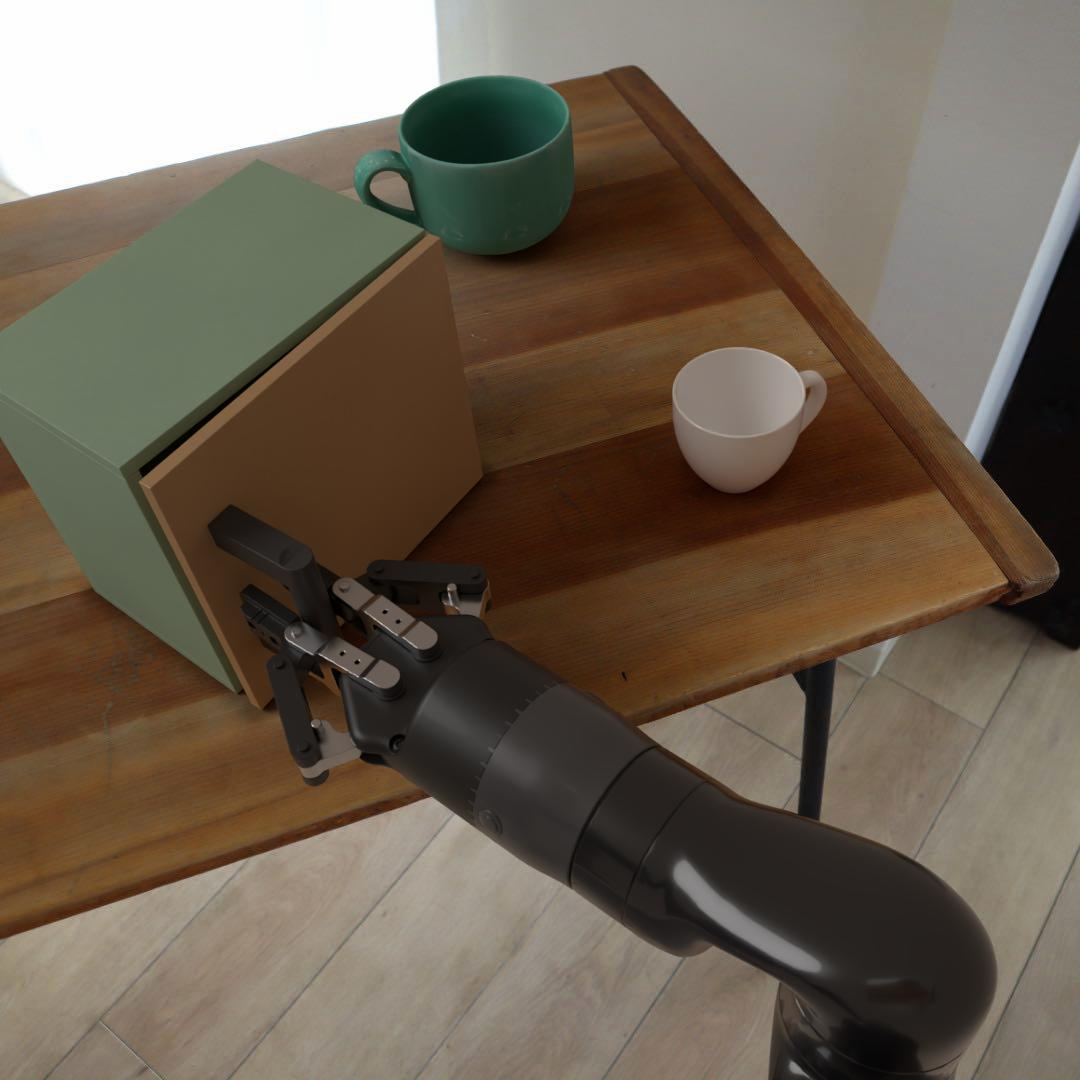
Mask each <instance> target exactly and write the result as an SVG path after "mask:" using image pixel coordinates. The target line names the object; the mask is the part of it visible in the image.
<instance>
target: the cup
mask: <svg viewBox="0 0 1080 1080" xmlns="http://www.w3.org/2000/svg"><path fill="white" fill-rule="evenodd" d="M827 386H828V385H827V383H826V380H825V379H824V377H823V376H822V375H821V374H820V373H819V372H818V371H816V370H812V369H809V370H808V369H807V370H801V371H799V372H798V370H797V369H796V368H795V367H794V366H793V365H792V364H791V363H789V362H788V361H787V360H786V359H784V358H782V357H781V356H779V355H776V354H775V353H771V352H769V351H766V350H762V349H758V348H753V347H744V346H743V347H742V346H738V347H737V346H733V347H722V348H718V349H714V350H710V351H707V352H703V353H702V354H699V355H698V356H696V357H694V358H693V359H691V360H689V361H688V362H687V363H686V364H685V365H683V367H682V368H681V369H680V370H679V371H678V373H677V375H676V376H675V379H674V381H673V384H672V390H671V414H672V424H673V431H674V436H675V439H676V443H677V445H678V446H679V450H680V452H681V454H682V456H683V458H684V460H685V461H686V463H687V464H688V466H689V467H690V469H691V470H692V471H693V472H694V473H695V474H696V476H698V477H699V478H700V479H701V480H702V481H704V482H705V483H706V484H707V485H708V486H710V487H712V489H715V490H717V491H718V492H719V491H720V492H722V493H727V494H743V493H747V492H750V491H752V490H754V489H756V488H758V487H759V486H761V485H763V484H764V483H766V482H767V481H769V480H770V479H771V478H772V477H774V476H775V475H776V474H777V473H778V472H779V471H780V469H781V468H782V467H783V466H784V465H785V463H786V462H787V460H788V459H789V458H790V456H791V454H792V453H793V450H794V449H795V446H796V444H797V441H798V439H799V436H800V435H801V434H802V433H803V432H804V431H805V430H806V429H807V428H808V426H809V425H810V424H811V423H812V422H813V421H814V420H815V419H816V418H817V416H818V415H819V414H820V412H821V411H822V409H823V407H824V405H825V402H826V400H827V397H828V396H827V395H828V387H827ZM808 388H809V394H808V397H807V396H806V395H807V390H806V389H808ZM806 397H807V398H806Z"/></svg>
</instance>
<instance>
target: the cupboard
mask: <svg viewBox="0 0 1080 1080" xmlns="http://www.w3.org/2000/svg"><path fill="white" fill-rule="evenodd" d="M426 236H427V234H426V231H425V229H423V228H421V227H418V226H416V225H413V224H411V223H409V222H406V221H404V220H401V219H399V218H397V217H394V216H392V215H389V214H387V213H385V212H382V211H380V210H378V209H375V208H373V207H370V206H368V205H366V204H363V203H362V201H358V200H356V199H353V198H351V197H349V196H346V195H344V194H342V193H339V192H338V191H334V190H332V189H330V188H327V187H325V186H323V185H320V184H317V183H315V182H314V181H310V180H308V179H306V178H304V177H301V176H298V175H296V174H294V173H291V172H290V171H287V170H284V169H282V168H280V167H277V166H274V165H273V164H270V163H267V162H266V161H263V160H260V159H257V158H256V159H255V160H253V161H252V162H250V163H249V164H248V165H246V166H245V167H243V168H241V169H240V170H239V171H237V172H236V173H234V174H233V175H231V176H229V177H228V178H227V179H225V180H224V181H222V182H221V183H219V184H218V185H216V186H215V187H214V188H212V189H210V190H209V191H207V192H206V193H204V194H203V195H202V196H201V195H200V197H198V198H197V199H195V200H194V201H193V202H191V203H189V204H188V205H186V206H185V207H184V208H182V209H181V210H179V211H178V212H176V213H175V214H173V215H172V216H170V217H169V218H167V219H165V220H164V221H162V222H161V223H160V224H158V225H157V226H155V227H154V228H152V229H151V230H149V231H148V232H146V233H145V234H143V235H141V237H139V238H137V239H135V241H133V242H131V243H130V244H128V245H127V246H125V247H124V248H123V249H120V250H119V251H118V252H116V253H114V255H112V256H111V257H109V258H107V259H106V260H105V261H103V262H102V263H100V264H99V265H97V266H95V267H94V268H93V269H91V270H89V271H88V272H87V273H85V274H84V275H82V276H81V277H78V279H76V280H75V281H73V282H72V283H70V284H68V285H67V286H66V287H64V288H63V289H61V290H60V291H59V292H57V293H55V294H54V295H52V296H51V297H49V298H48V299H46V300H45V301H43V302H42V303H41V304H39V305H38V306H36V307H35V308H33V309H32V310H30V311H29V312H27V313H25V314H24V315H23V316H21V317H20V318H18V319H17V320H15V321H14V322H12V323H11V324H9V325H8V326H7V327H4V328H3V329H2V330H1V331H0V440H1V441H2V442H3V444H4V446H5V447H6V449H7V451H8V453H9V454H10V455H11V457H12V459H13V460H14V462H15V463H16V465H17V467H18V468H19V470H20V472H21V474H22V475H23V476H24V478H25V480H26V481H27V483H28V485H29V486H30V488H31V490H32V492H33V493H34V495H35V496H36V498H37V500H38V501H39V502H40V504H41V506H42V507H43V509H44V510H45V512H46V514H47V516H48V518H49V520H51V522H52V524H53V525H54V527H55V529H56V530H57V532H58V533H59V535H60V537H61V538H62V540H63V541H64V544H65V545H66V546H67V548H68V550H69V552H70V553H71V554H72V556H73V558H74V559H75V561H76V563H77V564H78V566H79V568H80V569H81V571H82V573H83V574H84V577H86V579H87V581H88V582H89V584H90V586H91V587H92V589H93V590H94V592H95V593H97V594H98V595H99V596H101V597H102V598H103V599H105V600H107V602H108V603H111V605H113V606H114V607H116V608H117V609H118V610H120V611H122V612H123V613H124V614H126V615H127V616H128V617H130V618H131V619H132V620H134V621H135V622H137V623H138V624H139V625H141V626H142V627H143V628H145V630H148V632H151V633H152V634H153V635H154V636H156V637H157V638H159V640H161V641H163V642H164V643H166V644H167V645H168V646H170V647H171V648H172V649H174V650H175V651H177V652H178V653H179V654H180V655H182V656H184V657H185V658H186V659H187V660H189V661H190V662H192V663H193V664H195V665H196V666H197V667H198V668H200V669H201V670H203V671H204V672H205V673H206V674H208V675H210V676H211V677H212V678H213V679H214V680H217V681H218V682H219V683H220V684H222V685H223V686H225V687H226V688H228V689H229V690H230V691H231V692H233V693H234V694H236V695H238V694H239V693H240V692H241V691H242V690H244V688H243V686H242V684H241V682H240V680H239V678H238V676H237V674H236V672H235V670H234V668H233V666H232V664H231V662H230V661H229V659H228V657H227V655H226V653H225V651H224V649H223V647H222V645H221V643H220V641H219V639H218V637H217V635H216V633H215V631H214V629H213V627H212V625H211V623H210V621H209V619H208V617H207V615H206V613H205V611H204V609H203V607H202V605H201V604H200V602H199V600H198V598H197V596H196V594H195V592H194V590H193V588H192V586H191V584H190V582H189V580H188V578H187V576H186V574H185V572H184V570H183V568H182V566H181V564H180V562H179V560H178V558H177V556H176V554H175V552H174V550H173V548H172V547H171V545H170V543H169V541H168V539H167V537H166V535H165V533H164V531H163V529H162V527H161V525H160V523H159V521H158V519H157V517H156V515H155V513H154V511H153V509H152V507H151V505H150V503H149V501H148V499H147V497H146V495H145V493H144V492H143V490H142V488H141V486H140V484H139V481H140V480H142V479H143V478H144V477H145V476H146V475H147V474H149V473H150V472H151V471H152V470H153V469H154V468H156V467H157V466H158V465H159V464H160V463H161V462H163V461H164V460H165V459H166V458H167V457H168V456H170V455H171V454H172V453H173V452H174V451H175V450H177V449H178V448H179V447H180V446H181V445H182V444H184V443H185V442H186V441H187V440H188V439H189V438H191V437H192V436H193V435H194V434H195V433H197V432H198V431H199V430H200V429H201V428H202V427H204V426H205V425H206V424H207V423H208V422H209V421H211V420H212V419H213V418H214V417H215V416H216V415H218V414H219V413H220V412H221V411H222V410H223V409H225V408H226V407H227V406H228V405H229V404H230V403H232V402H233V401H234V400H235V399H236V398H237V397H239V396H240V395H241V394H242V393H243V392H244V391H246V390H247V389H248V388H249V387H250V386H251V385H253V384H254V383H255V382H256V381H257V380H258V379H260V378H261V377H262V376H263V375H264V374H266V373H267V372H268V371H269V370H270V369H271V368H273V367H274V366H275V365H276V364H277V363H278V362H280V361H281V360H282V359H283V358H284V357H285V356H287V355H288V354H289V353H290V352H291V351H292V350H294V349H295V348H296V347H297V346H298V345H299V344H301V343H302V342H303V341H304V340H305V339H306V338H308V337H309V336H310V335H311V334H312V333H313V332H315V331H316V330H317V329H318V328H319V327H320V326H322V325H323V324H324V323H325V322H326V321H328V320H329V319H330V318H331V317H332V316H333V315H335V314H336V313H337V312H338V311H339V310H340V309H342V308H343V307H344V306H345V305H346V304H347V303H349V302H350V301H351V300H352V299H353V298H354V297H356V296H357V295H358V294H359V293H360V292H361V291H363V290H364V289H365V288H366V287H367V286H368V285H370V284H371V283H372V282H373V281H374V280H375V279H377V278H378V277H379V276H380V275H381V274H382V273H384V272H385V271H386V270H387V269H388V268H389V267H391V266H392V265H393V264H394V263H395V262H397V261H398V260H399V259H400V258H401V257H402V256H404V255H405V254H406V253H407V252H408V251H409V250H411V249H412V248H413V247H414V246H415V245H416V244H418V243H419V242H420V241H421V240H422V239H423V238H425V237H426Z"/></svg>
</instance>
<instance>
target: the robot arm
mask: <svg viewBox="0 0 1080 1080" xmlns="http://www.w3.org/2000/svg"><path fill="white" fill-rule="evenodd" d="M316 563H317V562H316ZM317 565H318V568H319V571H320V574H321V576H322V579H323V582H324V585H325V587H326V590H327V593H328V595H329V598H330V601H331V604H332V606H333V609H334V612H335V615H336V616H337V615H338V616H339V617H341V618H342V619H343V621H344V623H343V624H345V625H346V626H348V627H349V628H350V629H352V630H353V631H355V632H356V633H357V634H358V635H360V636H361V637H362V638H363V639H365V640H366V642H365V643H363V644H362V645H360V646H359V647H356V646H355V645H353V644H351V643H349V642H348V641H346V640H345V641H344V640H342V639H341V638H339V637H337V636H332V637H329V636H327V635H325V634H323V633H322V632H320V631H318V630H316V629H315V628H313V627H311V626H310V625H308V624H306V623H304V622H301V619H300V617H299V615H298V614H296V613H295V612H293V611H292V610H290V609H289V608H287V607H286V606H284V605H283V604H281V603H280V602H278V601H277V600H275V599H274V598H272V597H271V596H269V595H268V594H266V593H265V592H263V591H262V590H260V589H259V588H257V587H256V586H254V585H253V584H249V585H248V586H247V587H245V588H244V589H243V590H242V591H241V592H240V593H239V596H240V598H241V600H242V602H243V604H242V605H241V606H240V609H241V611H242V613H243V615H244V617H245V619H246V621H247V624H248V626H249V628H250V629H251V631H252V632H253V633H255V634H256V635H258V636H260V637H261V638H262V639H263V640H265V641H266V642H268V643H269V644H271V645H272V646H273V647H275V648H276V649H278V650H279V653H278V654H277V655H274V656H273V657H271V658H270V659H269V660H268V662H267V664H266V670H267V673H268V677H269V680H270V684H271V687H272V691H273V694H274V697H273V698H274V701H275V704H276V708H277V711H278V715H279V718H280V721H281V725H282V729H283V733H284V735H285V736H284V737H285V739H286V743H287V746H288V749H289V753H290V755H291V757H292V759H293V761H294V764H295V766H296V767H297V769H298V772H299V774H300V775H301V777H302V780H303V782H304V783H305V784H306V785H308V786H309V787H318V786H321V785H323V784H324V783H326V781H327V780H328V779H329V776H330V769H332V768H335V767H338V766H341V765H342V764H343V765H344V764H346V763H348V762H351V761H353V760H356V759H360V760H361V761H362V762H364V763H366V764H367V765H371V766H377V767H384V768H388V769H392V770H394V771H395V772H397V773H398V774H400V775H401V776H402V777H403V778H405V779H406V780H407V781H409V782H410V783H412V784H413V785H414V786H416V787H417V788H419V789H420V790H421V791H423V792H424V793H425V794H427V795H428V796H430V797H431V798H432V799H434V800H435V801H437V802H438V803H440V804H441V805H443V806H444V807H445V808H447V810H450V811H451V812H452V813H453V814H455V815H457V816H458V817H459V818H460V819H462V820H463V821H465V822H466V823H468V824H469V825H470V826H472V827H473V828H474V829H476V830H477V831H478V832H480V833H481V834H483V835H484V836H486V837H487V838H488V839H490V840H491V841H492V842H494V843H495V844H497V845H498V846H499V847H501V848H502V849H504V850H505V851H507V852H508V853H509V854H510V855H512V856H513V857H515V858H516V859H518V860H519V861H521V862H522V863H524V864H525V865H527V866H528V867H531V868H532V869H533V870H536V871H537V872H539V873H541V874H544V875H545V876H547V877H549V878H552V879H553V880H555V881H557V882H559V883H561V884H562V885H564V886H566V887H567V888H568V889H570V890H572V891H574V892H575V893H576V894H577V895H579V896H580V897H581V898H583V899H585V900H586V901H587V902H588V903H590V904H592V906H594V907H596V908H597V909H598V910H600V911H601V912H603V913H604V914H605V915H606V916H608V917H609V918H611V919H612V920H614V921H616V922H617V923H618V924H620V925H621V926H622V927H623V928H625V929H627V930H628V931H629V932H631V933H632V934H634V935H635V936H636V937H638V938H639V939H641V940H642V941H644V942H646V943H648V944H649V945H651V946H653V947H654V948H656V949H658V950H660V951H662V952H664V953H667V954H669V955H672V956H675V957H678V958H692V957H696V956H699V955H700V954H701V955H702V954H703V953H705V952H707V951H708V950H709V949H711V948H712V947H715V948H716V949H719V950H720V951H723V952H724V953H727V954H729V955H730V956H731V957H734V958H736V959H737V960H740V961H742V962H744V963H746V964H748V965H749V966H752V967H754V968H756V969H757V970H759V971H761V972H762V973H765V974H767V975H768V976H769V977H771V978H773V979H775V980H776V981H778V986H777V990H776V996H775V1001H774V1008H773V1016H772V1024H771V1035H770V1045H769V1057H768V1070H767V1072H768V1073H767V1080H956V1076H957V1069H958V1066H959V1064H960V1062H961V1060H962V1059H963V1058H964V1056H965V1054H966V1052H967V1051H968V1049H969V1047H970V1046H971V1045H972V1043H973V1041H974V1040H975V1038H976V1036H977V1035H978V1033H979V1032H980V1030H981V1028H982V1027H983V1025H984V1023H985V1022H986V1020H987V1018H988V1016H989V1014H990V1012H991V1009H992V1007H993V1004H994V1001H995V998H996V994H997V993H996V992H997V988H998V981H999V970H998V969H999V968H998V961H997V957H996V952H995V949H994V945H993V942H992V939H991V937H990V935H989V933H988V930H987V928H986V927H985V925H984V924H983V922H982V920H981V919H980V918H979V916H978V915H977V913H976V912H975V911H974V909H973V908H972V906H971V905H970V904H969V903H968V902H967V901H966V900H965V899H964V898H963V897H962V896H961V895H960V893H958V892H957V891H956V890H955V889H954V888H953V887H951V885H950V884H948V883H947V882H946V881H945V880H944V879H943V878H942V877H940V876H939V875H938V874H936V873H935V872H933V870H931V869H930V868H928V867H927V866H925V865H924V864H922V863H920V862H919V861H917V860H916V859H914V858H912V857H910V856H908V855H906V854H904V853H902V852H900V851H898V850H897V849H894V848H892V847H890V846H889V845H886V844H883V843H881V842H878V841H875V840H873V839H871V838H868V837H866V836H862V835H859V834H857V833H854V832H851V831H848V830H845V829H843V828H840V827H837V826H834V825H831V824H828V823H826V822H823V821H819V820H816V819H814V818H811V817H808V816H805V815H803V814H799V813H796V812H794V811H790V810H787V809H783V808H781V807H780V808H779V807H776V806H772V805H768V804H764V803H760V802H757V801H755V800H751V799H749V798H747V797H744V796H742V795H740V794H739V793H737V792H736V791H734V790H733V789H731V788H730V787H728V786H727V785H725V784H724V783H722V782H721V781H720V780H718V779H716V778H715V777H713V776H712V775H710V774H709V773H706V772H705V771H704V770H702V769H700V768H698V767H697V766H695V765H693V764H692V763H690V762H689V761H687V760H686V759H684V758H682V757H681V756H679V755H678V754H676V753H674V752H672V751H671V750H669V749H667V748H666V747H664V746H663V745H661V744H660V743H659V742H657V741H656V740H654V739H653V738H652V737H650V736H649V735H648V734H646V732H644V731H643V730H642V729H640V728H639V727H638V726H637V725H636V724H635V723H634V722H632V721H631V720H630V719H628V718H627V717H626V716H625V715H623V714H621V712H619V711H618V710H616V709H614V708H613V707H611V706H610V705H608V704H606V702H605V701H603V699H601V698H600V697H599V696H597V695H596V694H595V693H593V692H591V691H586V690H584V689H581V688H580V687H578V686H576V685H575V684H574V683H572V682H570V681H569V680H568V679H565V678H564V677H562V676H561V675H559V674H557V673H556V672H555V671H553V670H551V669H549V668H548V667H546V666H544V665H543V664H541V663H539V662H538V661H536V660H535V659H533V658H531V657H530V656H528V655H526V654H525V653H523V652H522V651H520V650H518V649H517V648H515V647H513V646H512V645H510V644H509V643H507V642H505V641H503V640H498V639H497V638H495V637H494V636H493V634H492V633H491V631H490V629H489V627H488V625H487V624H486V622H485V621H484V616H485V614H486V613H488V612H489V611H490V610H491V609H492V607H493V599H492V591H491V586H490V581H489V579H488V574H487V570H486V568H485V567H483V566H482V565H479V564H468V563H467V564H466V563H452V562H451V563H448V562H432V561H431V562H430V561H416V560H403V561H400V560H382V559H379V560H375V561H373V562H371V563H370V564H369V565H368V567H367V573H365V574H363V575H361V576H359V577H357V578H354V579H352V578H349V577H344V578H341V577H339V576H338V575H336V574H335V573H333V572H332V571H330V570H328V569H327V568H325V567H324V566H321V564H319V563H317ZM281 584H282V583H281ZM282 585H283V584H282ZM283 586H284V587H285V588H286V589H287V590H288V591H290V590H289V588H288V587H287V586H285V585H283ZM406 610H408V611H423V612H424V611H426V612H438V613H444V614H410V613H407V612H406ZM308 676H310V677H312V678H314V679H316V680H317V681H319V682H321V683H322V684H324V685H325V686H326V687H327V688H328V689H329V690H330V691H331V692H332V693H333V694H334V695H335V696H337V697H339V698H340V699H341V703H342V706H343V710H344V717H345V721H346V722H345V723H346V726H347V731H345V732H343V731H337V730H336V729H335V728H334V727H333V725H332V724H331V722H329V720H328V721H327V720H326V719H320V718H314V717H313V714H312V710H311V707H310V704H309V700H308V698H307V697H308V696H307V694H306V691H305V688H304V684H305V682H306V680H307V678H308Z"/></svg>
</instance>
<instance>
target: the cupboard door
mask: <svg viewBox="0 0 1080 1080" xmlns="http://www.w3.org/2000/svg"><path fill="white" fill-rule="evenodd" d="M454 311H455V310H454V306H453V300H452V293H451V289H450V283H449V277H448V272H447V266H446V261H445V256H444V250H443V243H442V242H441V238H440V237H437V236H434V235H432V234H430V233H428V234H426V237H425V238H423V239H422V240H421V241H420V242H419V243H418V244H416V245H415V246H414V247H413V248H412V249H411V250H409V251H408V252H407V253H406V254H405V255H404V256H402V257H401V258H400V259H399V260H398V261H397V262H395V263H394V264H393V265H392V266H391V267H389V268H388V269H387V270H386V271H385V272H384V273H382V274H381V275H380V276H379V277H378V278H377V279H375V280H374V281H373V282H372V283H371V284H370V285H368V286H367V287H366V288H365V289H364V290H363V291H361V292H360V293H359V294H358V295H357V296H356V297H354V298H353V299H352V300H351V301H350V302H349V303H347V304H346V305H345V306H344V307H343V308H342V309H340V310H339V311H338V312H337V313H336V314H335V315H333V316H332V317H331V318H330V319H329V320H328V321H326V322H325V323H324V324H323V325H322V326H320V327H319V328H318V329H317V330H316V331H315V332H313V333H312V334H311V335H310V336H309V337H308V338H306V339H305V340H304V341H303V342H302V343H301V344H299V345H298V346H297V347H296V348H295V349H294V350H292V351H291V352H290V353H289V354H288V355H287V356H285V357H284V358H283V359H282V360H281V361H280V362H278V363H277V364H276V365H275V366H274V367H273V368H271V369H270V370H269V371H268V372H267V373H266V374H264V375H263V376H262V377H261V378H260V379H258V380H257V381H256V382H255V383H254V384H253V385H251V386H250V387H249V388H248V389H247V390H246V391H244V392H243V393H242V394H241V395H240V396H239V397H237V398H236V399H235V400H234V401H233V402H232V403H230V404H229V405H228V406H227V407H226V408H225V409H223V410H222V411H221V412H220V413H219V414H218V415H216V416H215V417H214V418H213V419H212V420H211V421H209V422H208V423H207V424H206V425H205V426H204V427H202V428H201V429H200V430H199V431H198V432H197V433H195V434H194V435H193V436H192V437H191V438H189V439H188V440H187V441H186V442H185V443H184V444H182V445H181V446H180V447H179V448H178V449H177V450H175V451H174V452H173V453H172V454H171V455H170V456H168V457H167V458H166V459H165V460H164V461H163V462H161V463H160V464H159V465H158V466H157V467H156V468H154V469H153V470H152V471H151V472H150V473H149V474H147V475H146V476H145V477H144V478H143V479H142V480H140V481H139V484H140V486H141V488H142V490H143V492H144V493H145V495H146V497H147V499H148V501H149V503H150V505H151V507H152V509H153V511H154V513H155V515H156V517H157V519H158V521H159V523H160V525H161V527H162V529H163V531H164V533H165V535H166V537H167V539H168V541H169V543H170V545H171V547H172V548H173V550H174V552H175V554H176V556H177V558H178V560H179V562H180V564H181V566H182V568H183V570H184V572H185V574H186V576H187V578H188V580H189V582H190V584H191V586H192V588H193V590H194V592H195V594H196V596H197V598H198V600H199V602H200V604H201V605H202V607H203V609H204V611H205V613H206V615H207V617H208V619H209V621H210V623H211V625H212V627H213V629H214V631H215V633H216V635H217V637H218V639H219V641H220V643H221V645H222V647H223V649H224V651H225V653H226V655H227V657H228V659H229V661H230V662H231V664H232V666H233V668H234V670H235V672H236V674H237V676H238V678H239V680H240V682H241V684H242V686H243V690H244V692H245V694H246V696H247V698H248V700H249V702H250V704H251V705H253V706H254V707H256V708H257V709H259V710H260V711H262V710H263V709H264V708H265V707H266V706H267V705H268V704H269V703H270V702H271V700H273V698H274V694H273V691H272V687H271V684H270V680H269V677H268V673H267V670H266V664H267V662H268V660H269V659H270V658H271V657H273V656H274V655H277V654H278V653H279V650H278V649H276V648H275V647H273V646H272V645H271V644H269V643H268V642H266V641H265V640H263V639H262V638H261V637H260V636H258V635H256V634H255V633H253V632H252V631H251V629H250V628H249V626H248V624H247V621H246V619H245V617H244V615H243V613H242V611H241V609H240V606H241V605H242V604H243V602H242V600H241V598H240V596H239V593H240V592H241V591H242V590H243V589H244V588H245V587H247V586H248V585H249V584H253V585H254V586H256V587H257V588H259V589H260V590H262V591H263V592H265V593H266V594H268V595H269V596H271V597H272V598H274V599H275V600H277V601H278V602H280V603H281V604H283V605H284V606H286V607H287V608H289V609H290V610H292V611H293V612H295V613H296V614H298V615H299V617H300V619H301V622H304V623H306V624H308V625H310V626H311V627H313V628H315V629H316V630H318V631H320V632H322V633H323V634H325V635H327V636H329V637H332V636H337V637H339V638H341V639H342V640H344V641H346V639H345V637H344V634H343V631H342V629H341V627H342V626H343V625H344V624H345V623H344V621H343V619H342V618H341V617H339V616H338V615H337V616H336V615H335V612H334V609H333V606H332V604H331V601H330V598H329V595H328V593H327V590H326V587H325V585H324V582H323V579H322V576H321V574H320V571H319V568H318V565H317V563H319V564H321V566H324V567H325V568H327V569H328V570H330V571H332V572H333V573H335V574H336V575H338V576H339V577H341V578H344V577H349V578H352V579H354V578H357V577H359V576H361V575H363V574H365V573H367V567H368V565H369V564H370V563H371V562H373V561H375V560H379V559H382V560H400V561H405V559H406V558H407V557H408V556H409V555H410V554H411V553H412V552H413V551H414V550H415V549H416V548H417V547H418V545H420V544H421V542H422V541H423V540H424V539H425V538H426V537H427V536H428V535H429V534H430V533H431V532H432V531H433V530H434V529H435V528H436V527H437V526H438V525H439V523H440V522H441V521H442V520H443V519H444V518H445V517H446V516H447V515H448V514H449V513H450V512H451V511H452V510H453V509H454V508H455V507H456V505H458V503H459V502H460V501H461V500H462V499H463V498H464V497H465V496H466V495H467V494H468V493H469V492H470V491H471V490H472V489H473V487H474V486H476V484H477V483H478V482H479V481H480V480H481V479H482V478H483V477H484V474H483V468H482V464H481V463H482V462H481V458H480V451H479V446H478V440H477V434H476V430H475V423H474V418H473V413H472V412H473V411H472V407H471V401H470V396H469V395H470V394H469V390H468V385H467V379H466V373H465V368H464V363H463V357H462V350H461V345H460V340H459V334H458V328H457V323H456V317H455V312H454ZM316 562H317V563H316ZM281 583H282V584H283V585H285V586H287V587H288V588H289V590H290V591H288V590H287V589H286V588H285V587H284V586H283V585H282V584H281Z"/></svg>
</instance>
